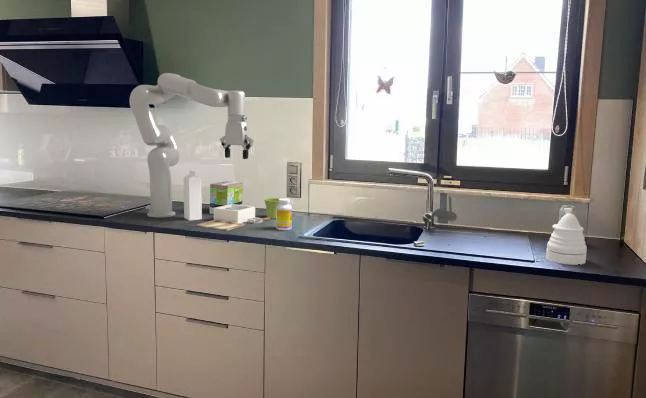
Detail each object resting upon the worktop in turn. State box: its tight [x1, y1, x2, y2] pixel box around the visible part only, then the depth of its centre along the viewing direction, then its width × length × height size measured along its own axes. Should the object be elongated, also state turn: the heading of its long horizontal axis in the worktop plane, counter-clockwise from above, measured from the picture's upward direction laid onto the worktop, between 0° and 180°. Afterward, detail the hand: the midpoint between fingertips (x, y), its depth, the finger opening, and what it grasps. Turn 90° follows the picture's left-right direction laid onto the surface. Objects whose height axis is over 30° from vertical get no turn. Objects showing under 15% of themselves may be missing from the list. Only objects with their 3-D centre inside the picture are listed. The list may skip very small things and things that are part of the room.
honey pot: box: [545, 208, 588, 266], centre depth 191 cm, size 13×13×18 cm
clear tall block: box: [558, 204, 577, 222], centre depth 217 cm, size 6×6×15 cm
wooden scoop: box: [246, 216, 271, 225], centre depth 244 cm, size 11×4×2 cm, turn 138°
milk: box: [183, 170, 203, 221], centre depth 245 cm, size 6×6×22 cm
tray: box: [195, 219, 246, 231], centre depth 233 cm, size 16×13×1 cm
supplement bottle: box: [275, 198, 293, 231], centre depth 230 cm, size 7×7×13 cm
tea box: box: [209, 180, 244, 215], centre depth 264 cm, size 15×10×15 cm
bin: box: [213, 204, 256, 224], centre depth 246 cm, size 13×13×6 cm
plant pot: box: [263, 197, 281, 220], centre depth 255 cm, size 9×9×9 cm
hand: (236, 158), depth 241 cm, fingers open, 9 cm apart
